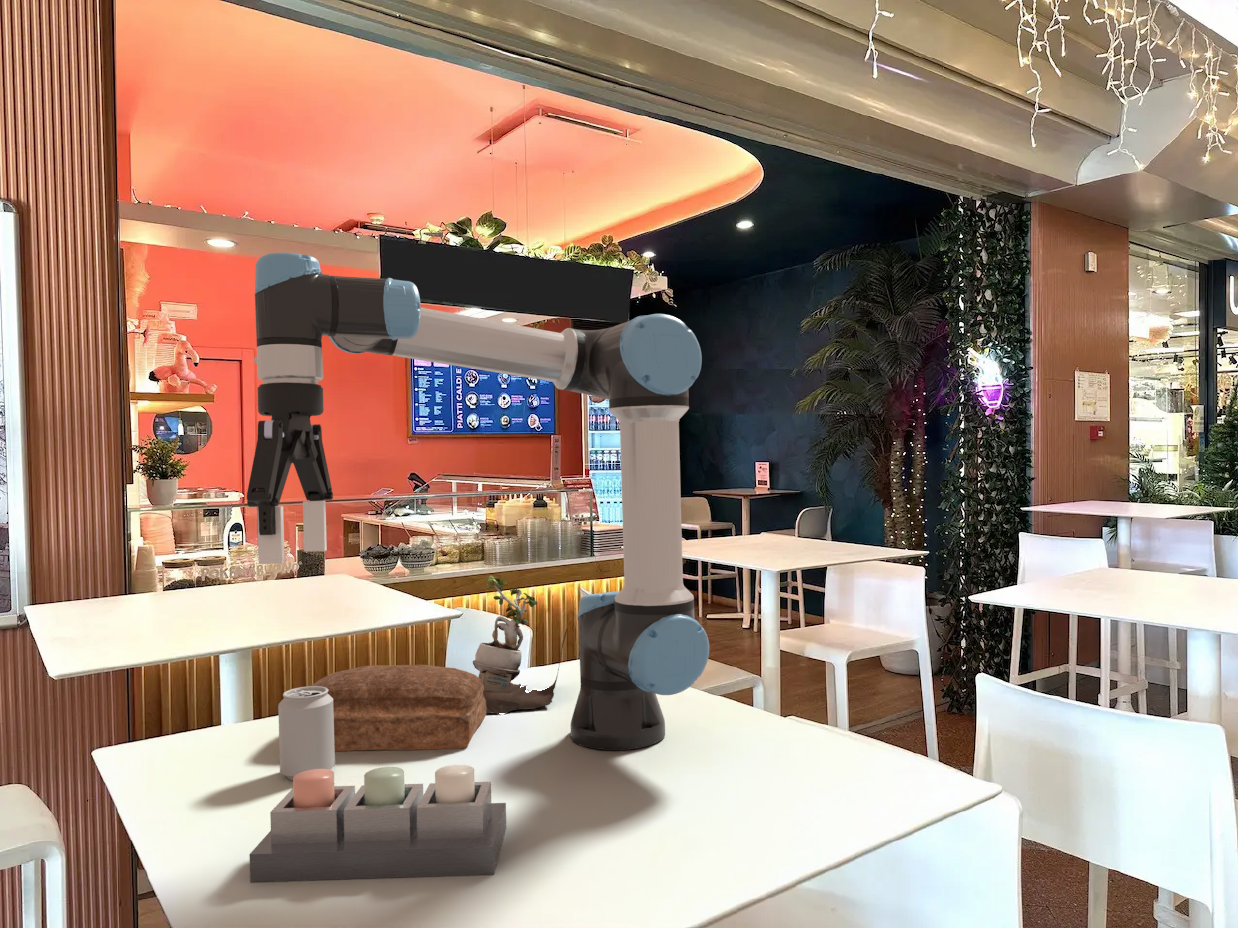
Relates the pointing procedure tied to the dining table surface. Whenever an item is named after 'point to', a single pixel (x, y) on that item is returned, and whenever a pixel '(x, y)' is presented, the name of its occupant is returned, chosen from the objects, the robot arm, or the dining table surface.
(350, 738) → the bread
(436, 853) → the console
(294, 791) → the button coral
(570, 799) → the dining table surface
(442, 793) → the button ivory
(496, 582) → the potted plant
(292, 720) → the can
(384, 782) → the button sage
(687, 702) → the dining table surface
